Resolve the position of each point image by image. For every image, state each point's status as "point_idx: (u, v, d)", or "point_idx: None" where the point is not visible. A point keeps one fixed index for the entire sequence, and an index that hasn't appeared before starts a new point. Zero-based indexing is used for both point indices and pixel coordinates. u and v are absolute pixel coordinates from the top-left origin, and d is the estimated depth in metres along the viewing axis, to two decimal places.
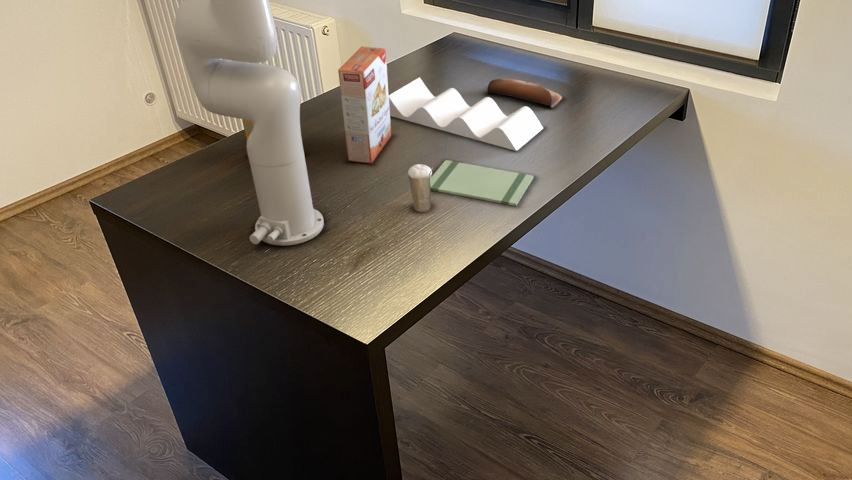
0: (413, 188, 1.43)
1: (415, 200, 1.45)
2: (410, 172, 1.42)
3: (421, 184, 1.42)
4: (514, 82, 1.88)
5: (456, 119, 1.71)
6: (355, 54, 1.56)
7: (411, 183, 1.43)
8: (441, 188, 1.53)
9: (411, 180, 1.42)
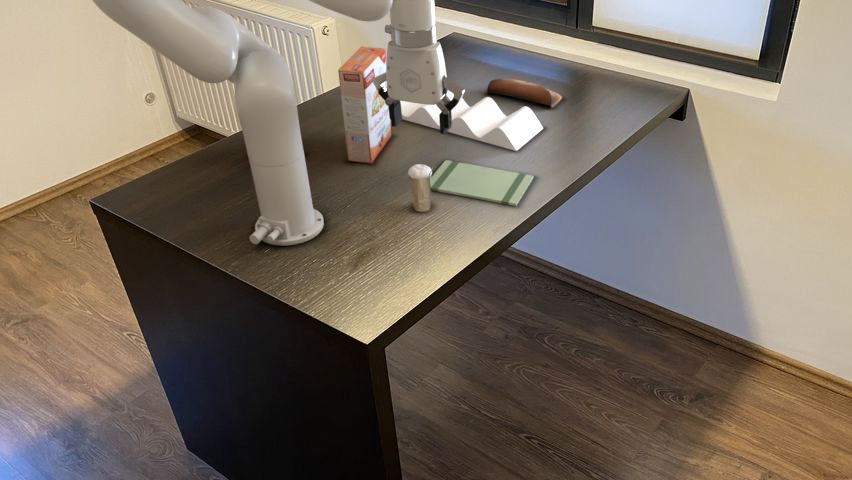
0: (413, 188, 1.43)
1: (415, 200, 1.45)
2: (410, 172, 1.42)
3: (421, 184, 1.42)
4: (514, 82, 1.88)
5: (456, 119, 1.71)
6: (355, 54, 1.56)
7: (411, 183, 1.43)
8: (441, 188, 1.53)
9: (411, 180, 1.42)
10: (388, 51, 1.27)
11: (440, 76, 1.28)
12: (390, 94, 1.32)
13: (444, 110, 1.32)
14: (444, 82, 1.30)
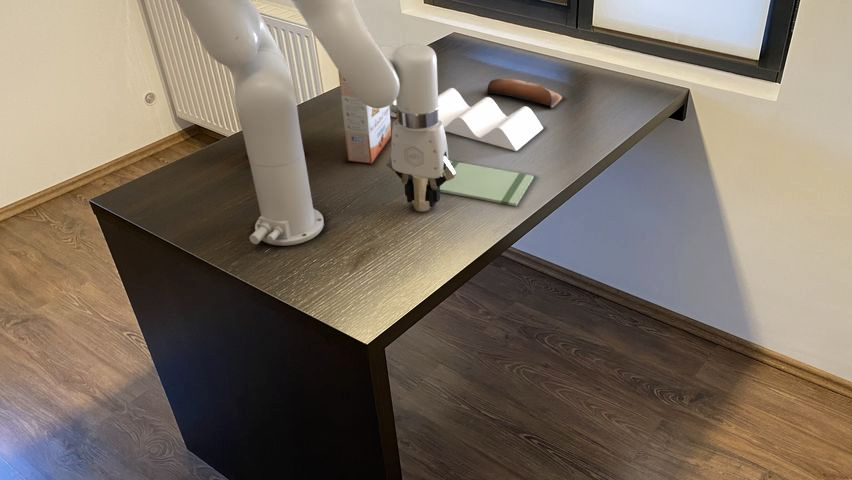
0: (415, 188, 1.43)
1: (416, 199, 1.45)
2: None
3: (423, 184, 1.42)
4: (514, 82, 1.88)
5: (456, 119, 1.71)
6: None
7: (413, 183, 1.43)
8: (441, 188, 1.53)
9: (413, 180, 1.42)
10: (393, 129, 1.36)
11: (442, 153, 1.37)
12: (394, 167, 1.41)
13: (433, 186, 1.42)
14: None
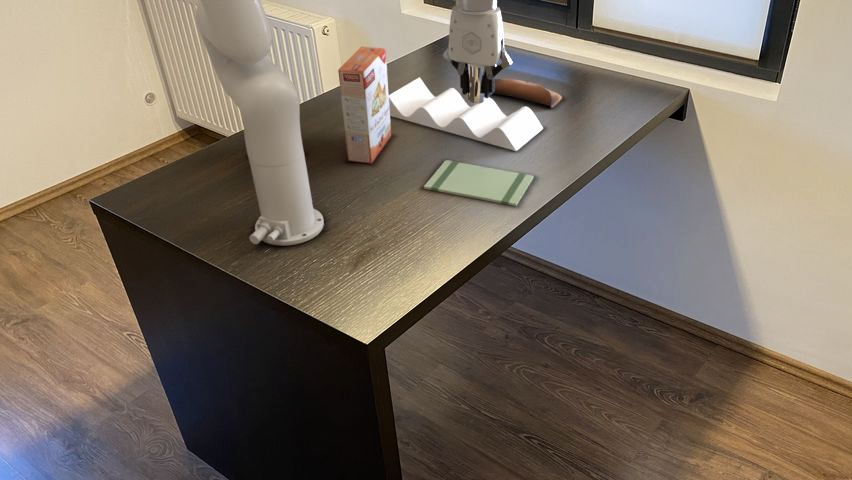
0: (470, 78, 1.46)
1: (471, 91, 1.48)
2: None
3: (479, 73, 1.45)
4: (514, 82, 1.88)
5: (456, 119, 1.71)
6: (355, 54, 1.56)
7: (469, 72, 1.45)
8: (441, 188, 1.53)
9: (469, 69, 1.45)
10: (452, 15, 1.39)
11: (499, 39, 1.40)
12: (451, 56, 1.43)
13: (489, 75, 1.45)
14: None
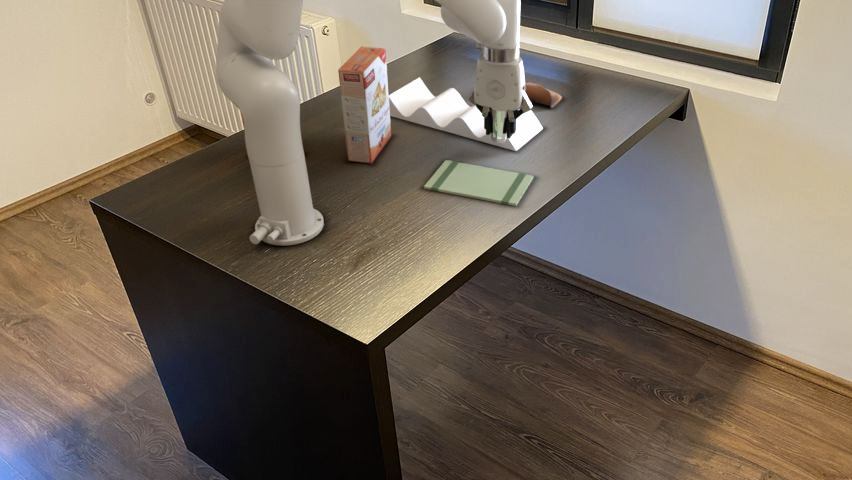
0: (494, 120, 1.59)
1: (494, 131, 1.61)
2: None
3: (502, 116, 1.58)
4: None
5: (456, 119, 1.71)
6: (355, 54, 1.56)
7: (493, 115, 1.58)
8: (441, 188, 1.53)
9: (493, 112, 1.58)
10: (478, 65, 1.52)
11: (521, 86, 1.53)
12: (477, 101, 1.56)
13: (511, 118, 1.58)
14: None
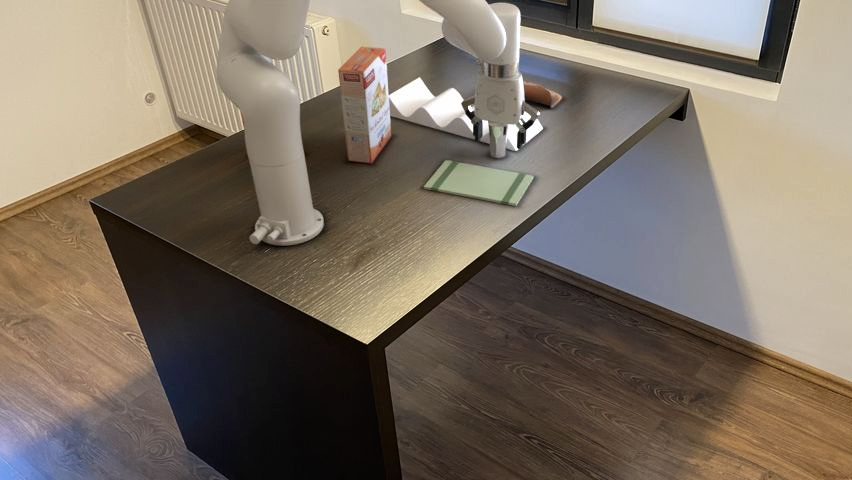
0: (492, 136, 1.61)
1: (493, 147, 1.63)
2: (490, 121, 1.60)
3: (500, 132, 1.60)
4: None
5: (456, 119, 1.71)
6: (355, 54, 1.56)
7: (490, 131, 1.61)
8: (441, 188, 1.53)
9: (491, 128, 1.60)
10: (478, 80, 1.54)
11: (521, 101, 1.55)
12: (477, 115, 1.58)
13: (521, 129, 1.59)
14: (523, 106, 1.56)
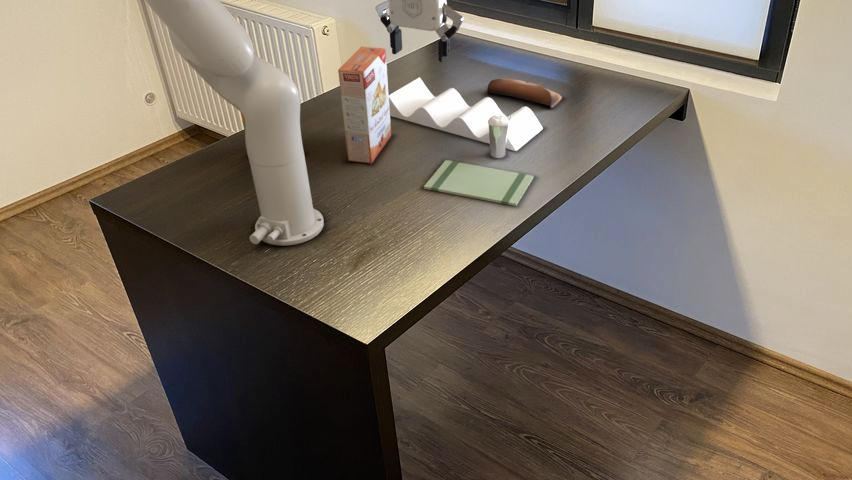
0: (492, 136, 1.61)
1: (493, 147, 1.63)
2: (490, 121, 1.60)
3: (500, 132, 1.60)
4: (514, 82, 1.88)
5: (456, 119, 1.71)
6: (355, 54, 1.56)
7: (490, 131, 1.61)
8: (441, 188, 1.53)
9: (491, 128, 1.60)
10: None
11: (441, 2, 1.34)
12: (392, 20, 1.38)
13: (443, 37, 1.38)
14: (444, 9, 1.36)
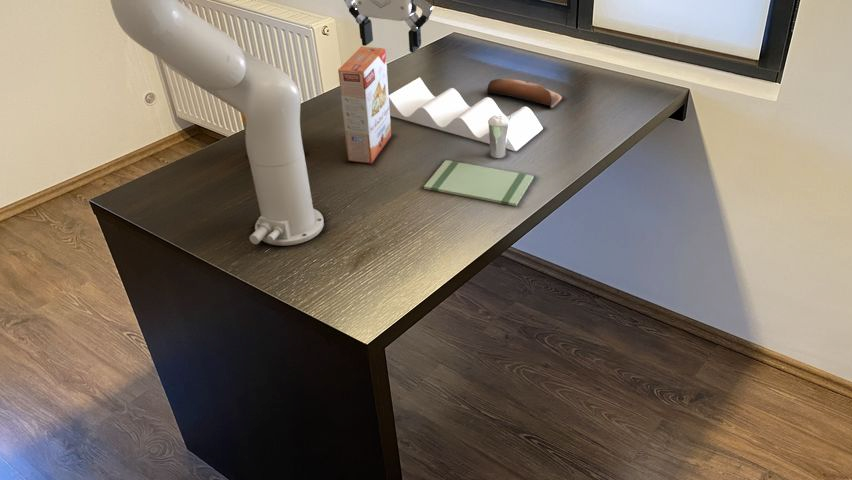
0: (492, 136, 1.61)
1: (493, 147, 1.63)
2: (490, 121, 1.60)
3: (500, 132, 1.60)
4: (514, 82, 1.88)
5: (456, 119, 1.71)
6: (355, 54, 1.56)
7: (490, 131, 1.61)
8: (441, 188, 1.53)
9: (491, 128, 1.60)
10: None
11: None
12: (360, 10, 1.34)
13: (413, 27, 1.34)
14: None
